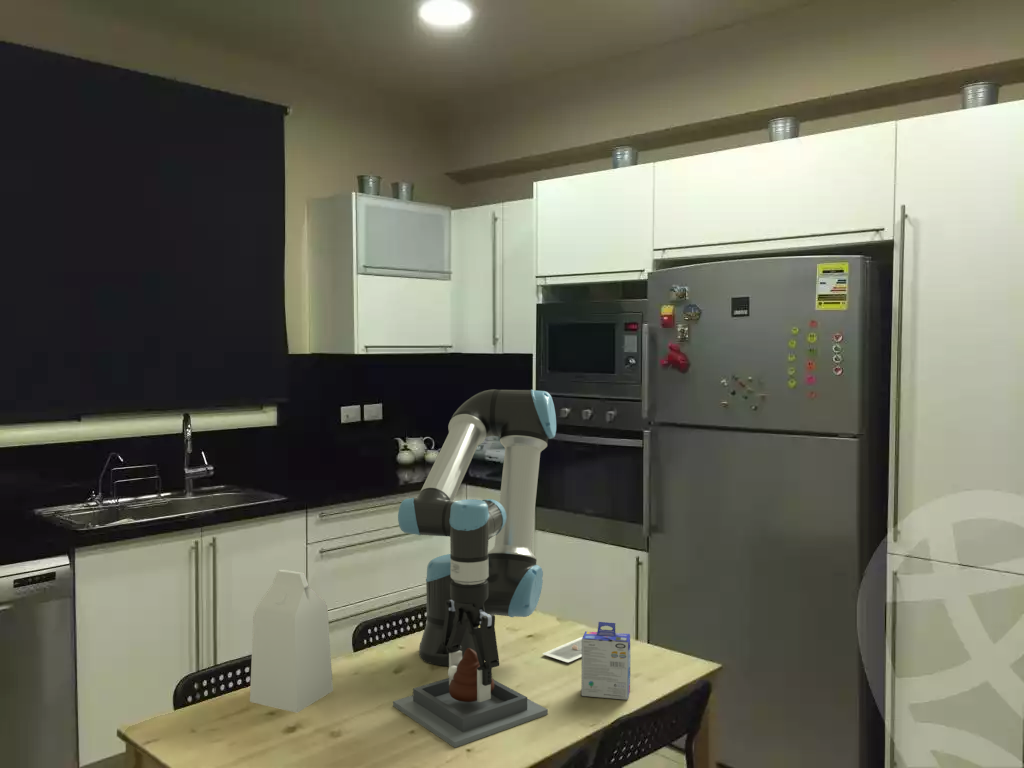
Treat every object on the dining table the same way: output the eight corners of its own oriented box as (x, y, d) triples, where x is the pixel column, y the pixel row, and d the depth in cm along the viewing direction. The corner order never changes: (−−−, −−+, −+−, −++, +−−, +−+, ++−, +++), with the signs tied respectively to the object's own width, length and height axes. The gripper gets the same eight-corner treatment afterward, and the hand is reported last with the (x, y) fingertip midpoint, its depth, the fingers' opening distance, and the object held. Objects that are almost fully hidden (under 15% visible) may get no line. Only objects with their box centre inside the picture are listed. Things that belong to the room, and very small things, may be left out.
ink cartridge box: (630, 690, 175) (631, 622, 174) (629, 701, 169) (629, 631, 168) (583, 686, 177) (584, 619, 176) (580, 697, 171) (581, 627, 170)
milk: (332, 690, 174) (331, 568, 173) (296, 712, 164) (295, 582, 162) (287, 681, 179) (286, 561, 178) (249, 701, 169) (248, 575, 167)
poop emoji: (474, 707, 158) (474, 659, 158) (438, 697, 163) (438, 650, 162) (502, 689, 167) (502, 643, 166) (468, 679, 171) (468, 635, 171)
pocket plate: (393, 706, 167) (392, 688, 166) (481, 678, 180) (481, 663, 180) (454, 747, 149) (454, 728, 149) (547, 714, 163) (547, 696, 163)
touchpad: (541, 658, 193) (541, 649, 193) (581, 641, 204) (581, 632, 204) (568, 667, 188) (568, 658, 188) (607, 649, 199) (607, 640, 199)
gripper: (423, 570, 170) (424, 679, 171) (486, 595, 153) (486, 716, 154) (454, 565, 174) (454, 670, 175) (518, 588, 157) (518, 705, 158)
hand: (469, 691), depth 165 cm, fingers closed on poop emoji, 9 cm apart
